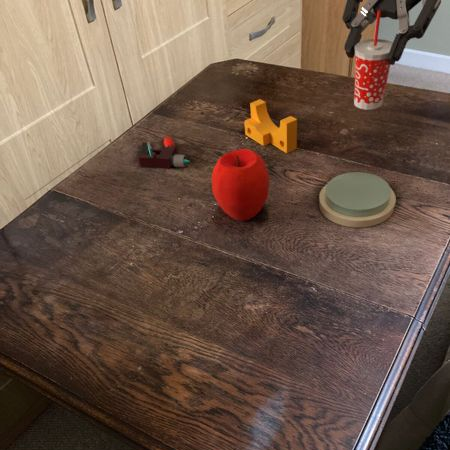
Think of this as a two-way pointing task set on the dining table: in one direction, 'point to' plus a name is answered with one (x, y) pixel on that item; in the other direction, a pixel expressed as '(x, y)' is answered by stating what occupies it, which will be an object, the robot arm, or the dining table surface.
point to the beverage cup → (371, 70)
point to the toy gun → (161, 156)
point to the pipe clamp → (271, 128)
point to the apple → (240, 183)
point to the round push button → (357, 200)
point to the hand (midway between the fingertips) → (369, 58)
